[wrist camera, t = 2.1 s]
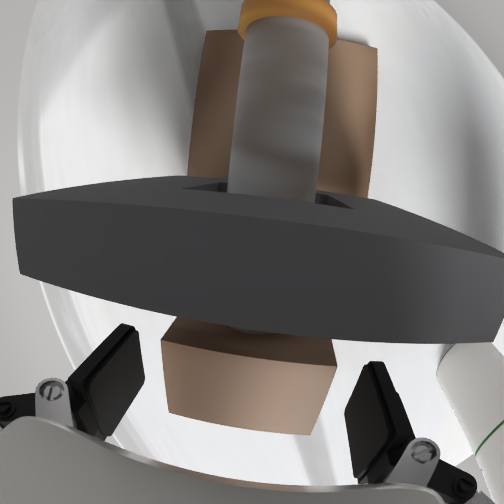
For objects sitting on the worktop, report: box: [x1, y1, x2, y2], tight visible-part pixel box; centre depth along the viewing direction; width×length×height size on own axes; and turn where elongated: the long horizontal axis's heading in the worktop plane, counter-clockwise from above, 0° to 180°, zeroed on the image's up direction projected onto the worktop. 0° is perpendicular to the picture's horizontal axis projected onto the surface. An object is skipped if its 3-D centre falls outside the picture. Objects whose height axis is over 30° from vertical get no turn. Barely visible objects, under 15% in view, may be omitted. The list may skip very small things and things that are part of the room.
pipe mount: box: [161, 0, 377, 435], centre depth 13 cm, size 12×20×12 cm, turn 174°
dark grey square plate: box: [13, 176, 504, 344], centre depth 10 cm, size 12×2×12 cm, turn 84°
